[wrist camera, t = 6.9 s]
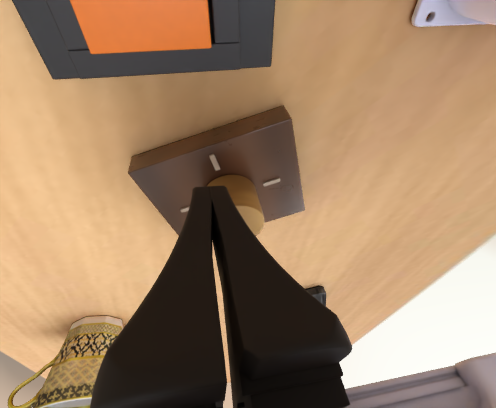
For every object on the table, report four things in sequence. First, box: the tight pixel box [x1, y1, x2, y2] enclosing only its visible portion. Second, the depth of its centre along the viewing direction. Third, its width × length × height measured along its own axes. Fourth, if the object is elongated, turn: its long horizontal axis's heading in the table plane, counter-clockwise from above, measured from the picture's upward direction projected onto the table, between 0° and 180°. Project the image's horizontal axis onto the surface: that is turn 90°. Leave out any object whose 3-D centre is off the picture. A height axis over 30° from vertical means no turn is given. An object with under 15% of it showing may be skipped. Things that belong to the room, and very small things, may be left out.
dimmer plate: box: [128, 106, 305, 235], centre depth 22 cm, size 12×10×2 cm
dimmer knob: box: [207, 175, 265, 236], centre depth 20 cm, size 4×4×4 cm
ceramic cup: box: [8, 316, 123, 408], centre depth 35 cm, size 13×10×10 cm
